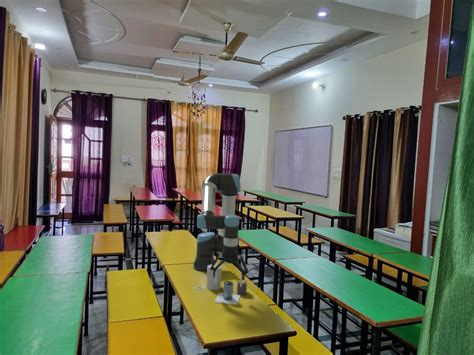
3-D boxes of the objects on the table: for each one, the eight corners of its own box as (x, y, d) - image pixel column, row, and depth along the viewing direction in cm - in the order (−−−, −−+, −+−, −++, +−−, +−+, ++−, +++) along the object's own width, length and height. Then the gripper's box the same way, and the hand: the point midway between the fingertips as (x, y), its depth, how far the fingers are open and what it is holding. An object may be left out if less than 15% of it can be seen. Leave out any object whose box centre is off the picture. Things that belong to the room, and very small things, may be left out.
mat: (218, 293, 186) (218, 292, 186) (240, 295, 184) (240, 295, 184) (214, 302, 174) (214, 301, 174) (237, 304, 172) (237, 304, 172)
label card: (195, 286, 194) (195, 286, 194) (204, 287, 193) (204, 287, 193) (194, 288, 191) (194, 288, 191) (203, 289, 190) (203, 289, 190)
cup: (218, 290, 190) (219, 269, 189) (204, 288, 191) (205, 268, 191) (222, 285, 198) (223, 265, 197) (208, 283, 199) (209, 263, 199)
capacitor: (222, 299, 177) (223, 284, 177) (224, 296, 182) (224, 280, 182) (231, 300, 176) (232, 285, 176) (233, 297, 181) (234, 281, 181)
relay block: (236, 291, 191) (237, 280, 190) (245, 291, 191) (246, 280, 191) (237, 294, 186) (237, 283, 185) (246, 295, 186) (246, 283, 186)
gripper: (205, 244, 176) (203, 284, 177) (253, 249, 172) (251, 289, 174) (209, 241, 183) (207, 279, 185) (254, 245, 180) (252, 284, 181)
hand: (228, 284), depth 179 cm, fingers open, 13 cm apart
